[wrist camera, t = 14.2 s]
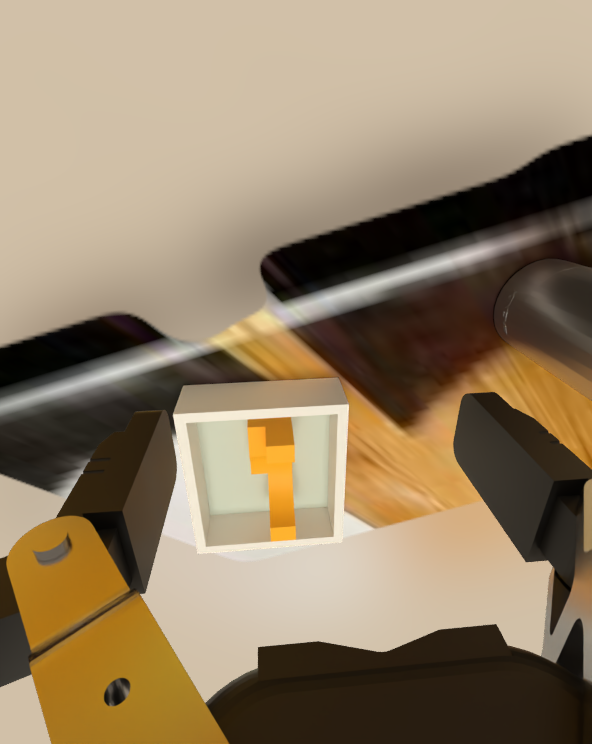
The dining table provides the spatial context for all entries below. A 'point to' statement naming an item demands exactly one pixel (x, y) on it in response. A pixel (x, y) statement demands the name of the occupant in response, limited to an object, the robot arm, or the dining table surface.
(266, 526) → the walled box
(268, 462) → the pipe clamp
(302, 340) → the dining table surface
